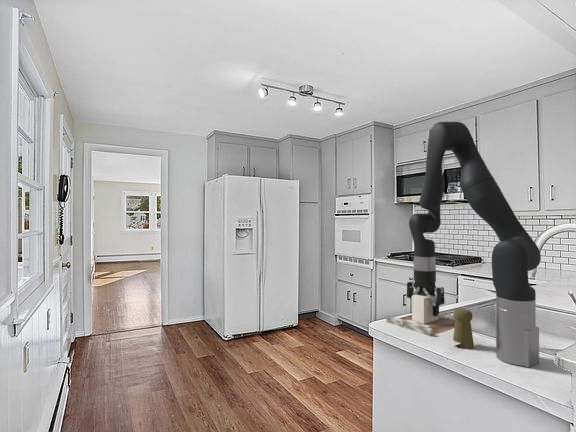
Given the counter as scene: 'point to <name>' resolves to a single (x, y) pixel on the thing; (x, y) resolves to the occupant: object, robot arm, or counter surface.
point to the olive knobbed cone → (463, 329)
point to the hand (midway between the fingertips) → (424, 313)
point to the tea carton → (422, 309)
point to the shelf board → (423, 325)
